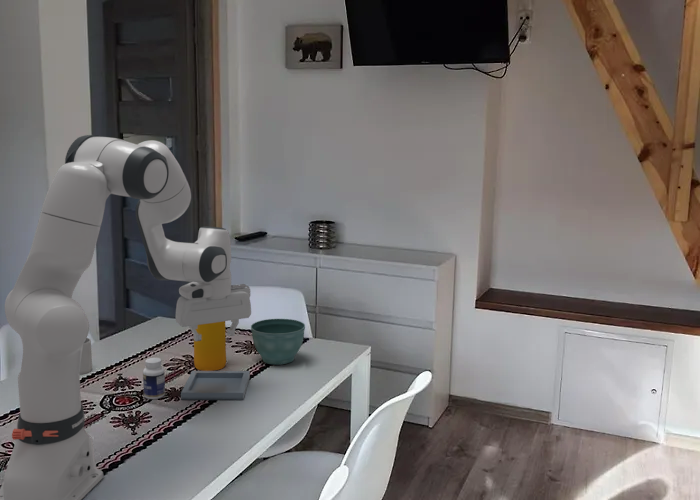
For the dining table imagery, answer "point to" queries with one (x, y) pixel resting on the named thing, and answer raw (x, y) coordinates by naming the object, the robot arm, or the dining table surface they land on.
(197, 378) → the dish
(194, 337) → the robot arm
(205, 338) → the beer bottle
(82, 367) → the cup
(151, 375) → the pill bottle
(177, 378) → the dining table surface
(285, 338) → the flower pot
